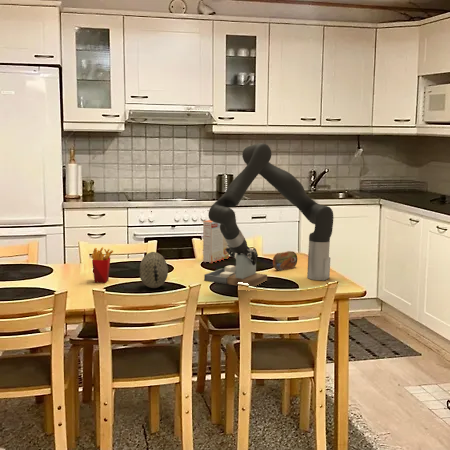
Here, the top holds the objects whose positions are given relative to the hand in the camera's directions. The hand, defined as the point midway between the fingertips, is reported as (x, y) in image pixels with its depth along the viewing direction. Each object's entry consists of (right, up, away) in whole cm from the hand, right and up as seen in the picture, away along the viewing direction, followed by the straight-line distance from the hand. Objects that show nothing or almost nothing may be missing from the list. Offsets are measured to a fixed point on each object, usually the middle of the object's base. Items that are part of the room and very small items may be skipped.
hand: (247, 262), depth 267 cm
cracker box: (-15, -2, +42) cm, 44 cm away
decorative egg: (-40, -10, -12) cm, 43 cm away
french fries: (-62, -8, -5) cm, 63 cm away
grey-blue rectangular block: (-1, -6, 0) cm, 6 cm away
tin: (+19, -5, +27) cm, 34 cm away
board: (0, -9, -1) cm, 9 cm away
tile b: (-9, -8, +1) cm, 12 cm away
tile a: (-6, -5, +6) cm, 10 cm away
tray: (-10, -8, +5) cm, 14 cm away
